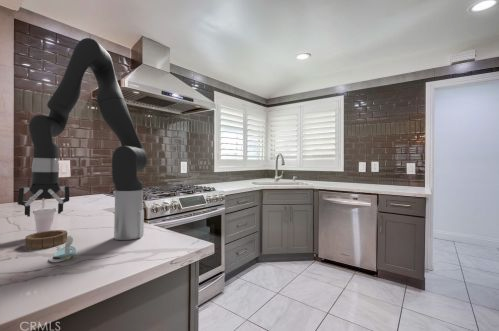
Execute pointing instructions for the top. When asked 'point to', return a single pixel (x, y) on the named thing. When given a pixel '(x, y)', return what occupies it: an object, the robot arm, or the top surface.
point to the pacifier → (64, 251)
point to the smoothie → (44, 218)
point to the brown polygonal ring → (45, 239)
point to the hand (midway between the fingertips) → (44, 214)
